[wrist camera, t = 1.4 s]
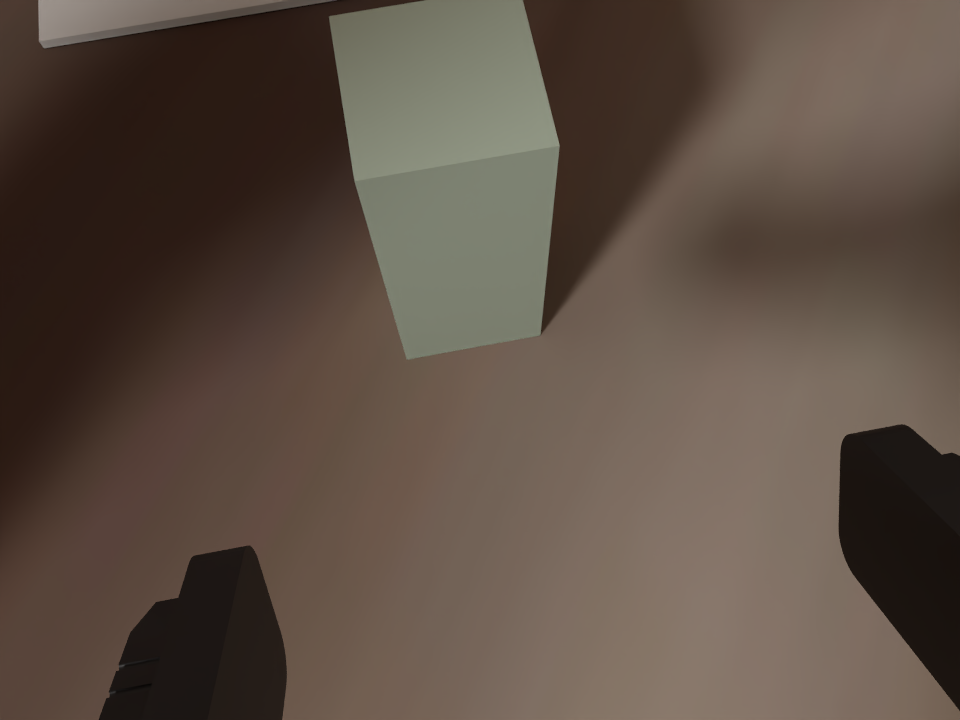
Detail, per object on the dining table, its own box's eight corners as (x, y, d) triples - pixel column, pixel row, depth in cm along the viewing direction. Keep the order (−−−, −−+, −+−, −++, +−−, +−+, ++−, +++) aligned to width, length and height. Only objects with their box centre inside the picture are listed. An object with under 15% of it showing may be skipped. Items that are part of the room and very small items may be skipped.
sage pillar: (406, 359, 29) (354, 180, 19) (387, 240, 31) (328, 16, 21) (540, 335, 30) (559, 145, 19) (514, 218, 31) (518, -16, 21)
